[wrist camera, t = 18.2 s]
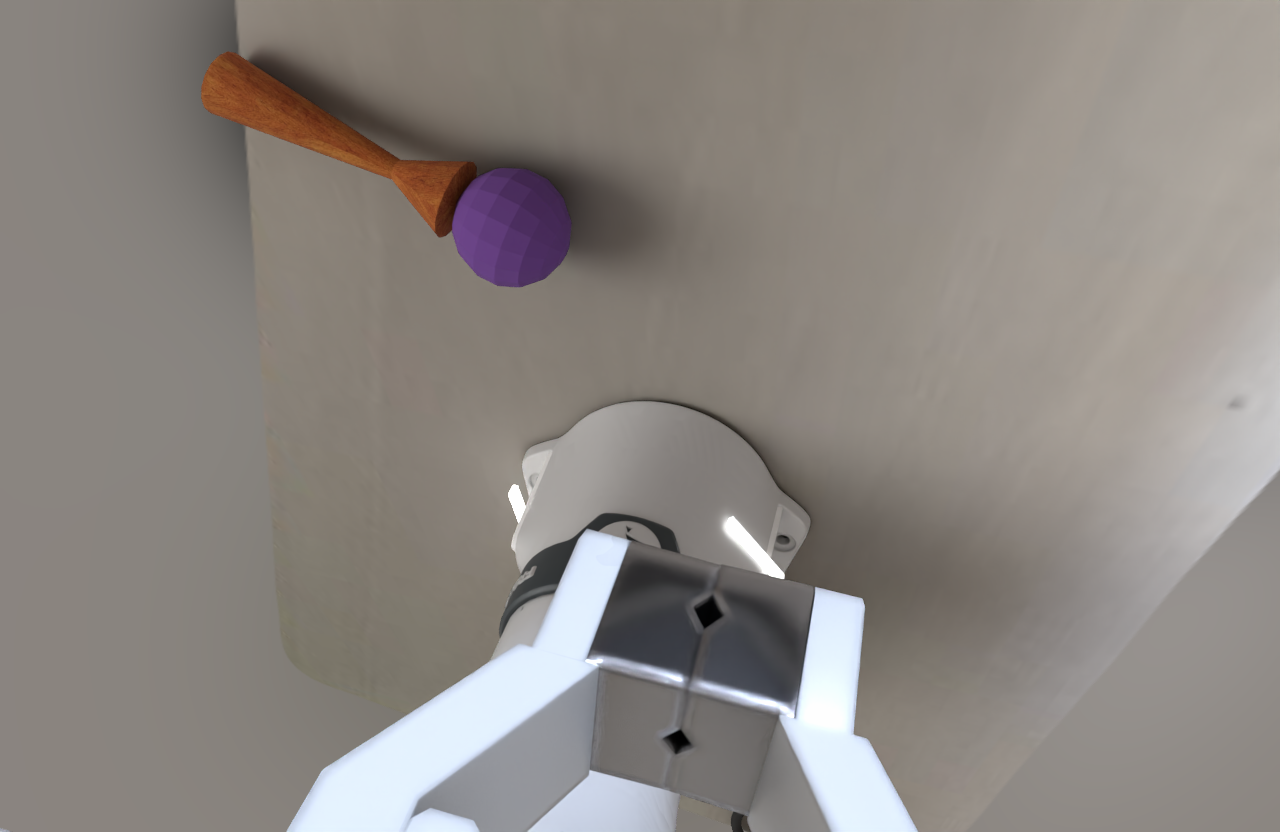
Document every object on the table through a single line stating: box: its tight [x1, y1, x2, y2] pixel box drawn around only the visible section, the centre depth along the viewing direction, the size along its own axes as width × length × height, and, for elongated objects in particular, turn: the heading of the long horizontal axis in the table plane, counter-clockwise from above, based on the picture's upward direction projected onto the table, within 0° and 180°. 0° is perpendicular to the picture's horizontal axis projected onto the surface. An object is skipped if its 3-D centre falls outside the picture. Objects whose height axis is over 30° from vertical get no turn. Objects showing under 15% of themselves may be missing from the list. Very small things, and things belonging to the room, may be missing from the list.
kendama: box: [201, 52, 572, 287], centre depth 49 cm, size 6×6×20 cm
